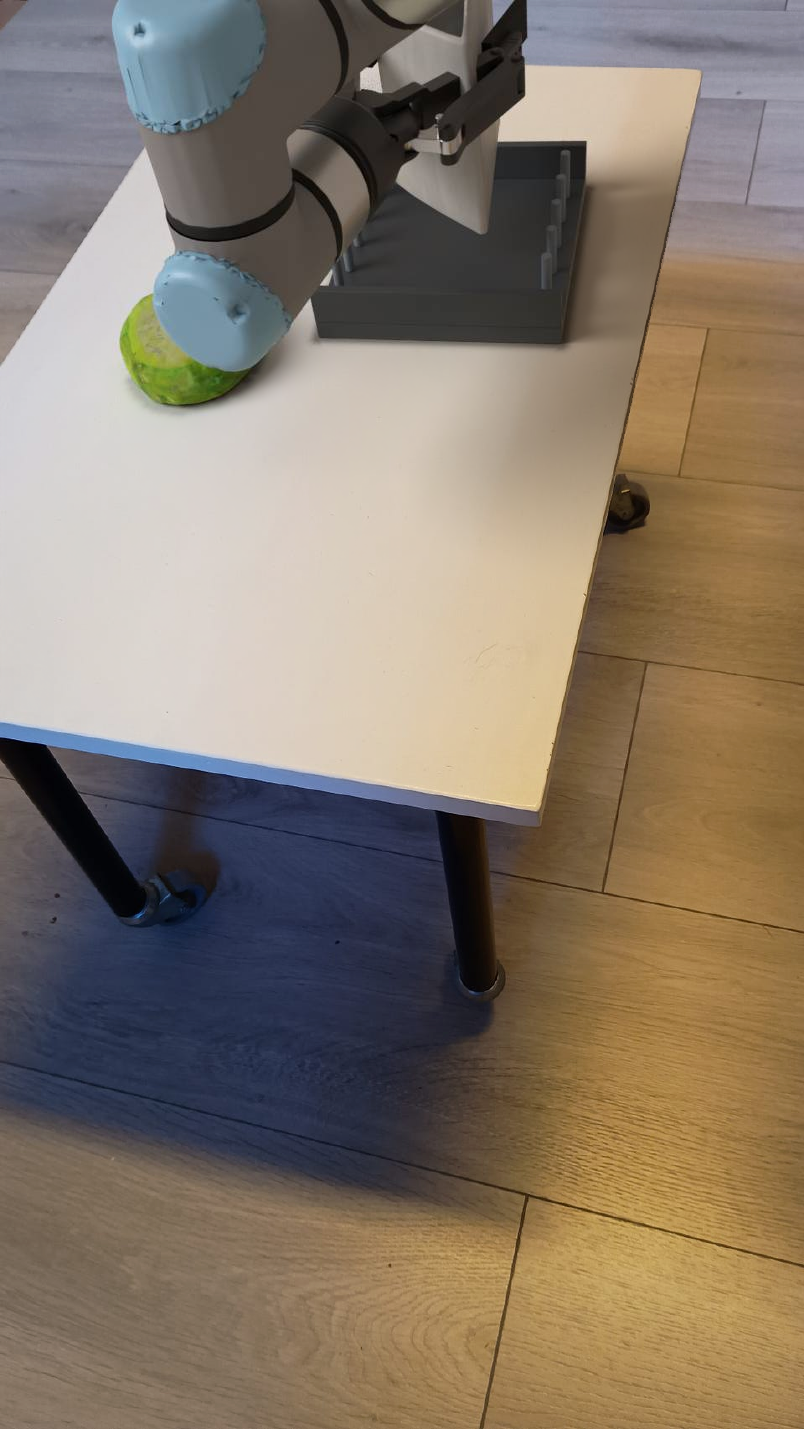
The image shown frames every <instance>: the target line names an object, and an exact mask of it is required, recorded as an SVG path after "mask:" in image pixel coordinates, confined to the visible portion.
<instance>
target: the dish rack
mask: <svg viewBox="0 0 804 1429" xmlns="http://www.w3.org/2000/svg"><path fill="white" fill-rule="evenodd" d="M587 156H588V141H587V140H530V141H529V140H524V141H523V140H522V141H521V140H519V141H517V140H515V141H512V140H511V141H508V140H507V141H498V143H497V152H496V161H495V169H494V178H493V187H492V196H491V205H490V214H489V225H488V231H487V232H486V233H485V234H482V235H481V234H478V233H476V232H475V231H473V230H471V229H469V228H467V227H465V226H464V225H462V224H460V223H458V222H457V221H455V220H453V219H451V218H449V217H448V216H446V215H444V214H442V213H440V212H439V211H437V210H436V209H434V208H432V207H431V206H429V205H428V204H426V203H424V202H423V201H421V200H420V199H418V198H416V197H415V196H413V195H412V194H411V193H409V192H408V191H407V190H405V189H404V188H403V187H401V186H400V185H399V184H397V183H396V181H395V184H394V186H393V188H392V190H391V192H390V193H389V195H388V196H387V197H386V199H385V200H384V201H383V203H382V204H381V205H380V207H379V208H378V209H377V211H376V212H375V213H374V215H373V216H372V217H371V218H370V220H369V221H368V222H367V223H366V224H364V226H363V228H362V230H361V231H360V232H359V234H358V235H357V236H356V238H355V239H354V240H353V242H352V243H351V244H350V246H349V247H348V248H347V250H346V251H345V252H344V254H343V255H342V256H341V258H340V259H339V260H338V262H336V263H335V265H334V266H333V268H332V269H331V271H332V274H331V277H330V280H329V283H328V285H327V284H326V285H324V284H323V285H322V284H320V286H319V287H318V288H317V290H316V291H315V292H314V294H313V295H312V296H311V298H310V299H309V300H310V304H311V308H312V313H313V317H314V321H315V327H316V331H317V336H318V338H320V339H321V338H324V339H327V338H328V339H365V340H399V341H400V340H402V341H403V340H404V341H405V340H406V341H441V342H444V341H445V342H476V343H478V342H480V343H518V344H519V343H521V344H557V345H559V344H560V345H561V343H562V340H563V339H562V338H563V333H564V327H565V320H566V314H567V308H568V304H569V303H568V301H569V295H570V290H571V284H572V283H571V282H572V277H573V272H574V265H575V259H576V252H577V246H578V241H579V233H580V227H581V221H582V215H583V209H584V202H585V198H586V197H585V196H586V191H587V187H586V186H587V159H588V158H587Z"/></svg>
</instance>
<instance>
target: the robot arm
mask: <svg viewBox="0 0 804 1429" xmlns="http://www.w3.org/2000/svg"><path fill="white" fill-rule="evenodd" d="M457 1H459V0H118V1H117V2H116V4H115V7H114V8H113V14H112V17H111V30H112V36H113V40H114V45H115V50H116V53H117V62H118V65H119V70H120V73H121V77H122V80H123V85H124V93H125V97H126V100H127V104H128V107H129V109H130V111H131V112H132V114H133V116H134V119H135V122H136V124H137V128H138V130H139V133H140V136H141V140H142V142H143V144H144V147H145V151H146V154H147V156H148V159H149V163H150V165H151V167H152V168H151V169H152V170H153V174H154V177H155V179H156V183H157V186H158V189H159V191H160V195H161V198H162V201H163V202H162V203H163V207H164V210H165V220H166V223H167V227H168V229H169V233H170V235H171V238H172V242H173V245H174V253H173V254H172V255H169V256H168V257H167V258H166V259H165V260H164V265H163V266H162V269H161V271H160V272H159V273H158V275H157V276H156V278H155V281H154V285H153V290H152V293H153V306H154V310H155V313H156V316H157V318H158V321H159V322H160V324H161V326H162V328H163V329H164V331H165V332H166V334H167V335H168V336H169V338H170V339H171V340H172V341H173V342H174V343H175V344H176V345H177V346H178V347H179V348H180V349H181V350H182V351H183V352H184V353H186V354H187V355H188V356H190V357H191V358H193V359H194V360H196V361H197V362H199V363H201V364H203V365H205V366H207V367H210V368H218V369H220V370H224V371H232V372H236V371H241V370H245V369H248V368H250V367H252V368H253V367H254V366H255V365H257V363H259V362H260V361H261V360H262V359H263V358H264V357H265V355H266V354H268V352H269V351H270V350H271V349H272V348H273V347H274V346H275V344H276V343H278V341H279V340H280V339H281V338H283V337H285V336H286V335H287V334H288V333H289V331H290V330H291V326H292V324H293V323H294V321H295V320H296V318H297V317H298V315H299V314H300V313H301V311H303V309H304V308H305V306H306V305H307V303H308V302H309V301H310V300H311V299H310V298H311V296H312V295H313V294H314V292H315V291H316V290H317V288H318V287H319V286H320V285H322V284H323V282H324V281H325V278H327V276H328V275H329V274H330V272H331V271H332V268H333V266H334V265H335V263H336V262H338V260H339V259H340V258H341V256H342V255H343V254H344V252H345V251H346V250H347V248H348V247H349V246H350V244H351V243H352V242H353V240H354V239H355V238H356V236H357V235H358V234H359V232H360V231H361V230H362V228H363V226H364V224H366V223H367V222H368V221H369V220H370V218H371V217H372V216H373V215H374V213H375V212H376V211H377V209H378V208H379V207H380V205H381V204H382V203H383V201H384V200H385V199H386V197H387V196H388V195H389V193H390V192H391V190H392V188H393V186H394V184H395V181H396V179H397V176H398V173H399V171H400V169H401V167H402V166H403V165H404V164H405V163H407V162H409V161H411V160H413V159H414V158H416V157H417V156H418V154H419V153H420V152H430V153H440V160H441V164H443V165H445V166H452V165H455V164H456V163H457V162H458V161H459V159H460V157H461V155H462V153H463V151H464V149H465V147H466V146H467V145H469V144H470V143H471V142H472V141H473V140H475V139H476V138H477V137H478V136H479V135H480V134H482V133H483V132H484V131H485V130H486V129H487V128H489V127H490V126H491V125H492V124H493V123H494V122H496V121H497V120H498V119H499V118H500V119H501V118H502V117H503V116H504V115H505V114H506V113H508V112H509V111H510V110H511V109H512V108H514V107H515V106H516V105H517V104H518V103H519V102H521V101H522V100H523V99H524V98H525V97H526V58H525V56H524V55H523V45H524V43H525V41H526V40H527V39H528V0H513V1H512V3H510V5H509V6H508V7H507V9H506V10H505V12H504V13H503V14H502V15H501V16H500V17H499V19H498V20H497V22H496V23H495V24H494V27H493V28H492V29H491V31H490V32H489V33H488V35H487V36H486V37H485V38H484V40H483V41H482V42H481V47H482V53H481V54H479V55H478V57H477V64H476V73H477V84H476V85H474V86H473V87H472V88H471V89H470V90H468V91H467V92H466V93H465V94H463V95H462V96H461V90H460V77H459V76H457V75H455V74H453V73H451V72H449V71H447V72H445V73H443V74H441V75H440V76H438V77H436V78H434V79H432V80H430V81H428V82H426V83H425V84H423V85H421V84H419V83H417V82H411V83H410V84H408V85H406V86H404V87H402V88H400V89H398V90H396V91H395V92H393V93H382V92H378V91H376V90H373V89H368V88H361V73H362V72H363V71H364V70H365V69H367V68H368V69H373V68H374V67H375V66H376V65H377V64H378V61H377V58H378V57H380V56H381V55H382V54H384V53H385V52H386V51H388V50H389V49H391V48H392V47H394V46H395V45H397V44H398V43H399V42H401V41H402V40H404V39H405V38H407V37H408V36H410V35H411V34H413V33H414V32H416V31H417V30H418V29H420V28H421V27H423V26H424V25H426V24H427V23H428V21H430V20H431V19H432V18H434V17H435V16H437V15H438V14H440V13H441V12H443V11H444V10H446V9H447V8H449V7H450V6H452V5H453V4H454V3H456V2H457ZM335 95H336V96H335ZM410 103H411V105H410ZM411 106H412V108H411Z"/></svg>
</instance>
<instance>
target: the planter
mask: <svg viewBox="0 0 804 1429" xmlns="http://www.w3.org/2000/svg"><path fill="white" fill-rule="evenodd" d="M493 8H494V7H493V0H459V1H457V2H456V3H454V4H453V5H452V6H450V7H449V8H447V9H446V10H444V11H443V12H441V13H440V14H438V15H437V16H435V17H434V18H432V19H431V20H430V21H428V23H427V24H426V25H424V26H423V27H421V28H420V29H418V30H417V31H416V32H414V33H413V34H411V35H410V36H408V37H407V38H405V39H404V40H402V41H401V42H399V43H398V44H397V45H395V46H394V47H392V48H391V49H389V50H388V51H386V52H385V53H384V54H382V55H381V56H380V57H378V58H377V61H378V62H377V67H378V73H379V79H380V87H381V93H393V92H395V91H396V90H398V89H400V88H402V87H404V86H406V85H408V84H410V83H411V82H417V83H419V84H421V85H423V84H425V83H426V82H428V81H430V80H432V79H434V78H436V77H438V76H440V75H441V74H443V73H445V72H447V71H449V72H451V73H453V74H455V75H457V76H459V77H460V90H461V96H462V95H463V94H465V93H466V92H467V91H468V90H470V89H471V88H472V87H473V86H474V85H476V84H477V73H476V64H477V57H478V55H479V54H481V53H482V47H481V42H482V41H483V40H484V38H485V37H486V36H487V35H488V33H489V32H490V31H491V29H492V28H493V27H494V26H495V24H494V14H493V13H494V12H493V10H494V9H493ZM410 105H411V103H410ZM411 108H412V106H411ZM500 125H501V117H500V118H499V119H498V120H497V121H496V122H494V123H493V124H492V125H491V126H490V127H489V128H487V129H486V130H485V131H484V132H483V133H482V134H480V135H479V136H478V137H477V138H476V139H475V140H473V141H472V142H471V143H470V144H469V145H467V146H466V147H465V149H464V151H463V153H462V155H461V157H460V159H459V161H458V162H457V163H456V164H455V165H452V166H445V165H443V164H441V160H440V153H430V152H420V153H419V154H418V156H417V157H416V158H414V159H413V160H411V161H409V162H407V163H405V164H404V165H403V166H402V167H401V169H400V171H399V173H398V176H397V179H396V183H397V184H399V185H400V186H401V187H403V188H404V189H405V190H407V191H408V192H409V193H411V194H412V195H413V196H415V197H416V198H418V199H420V200H421V201H423V202H424V203H426V204H428V205H429V206H431V207H432V208H434V209H436V210H437V211H439V212H440V213H442V214H444V215H446V216H448V217H449V218H451V219H453V220H455V221H457V222H458V223H460V224H462V225H464V226H465V227H467V228H469V229H471V230H473V231H475V232H476V233H478V234H481V235H482V234H485V233H486V232H487V231H488V225H489V214H490V205H491V196H492V187H493V178H494V169H495V161H496V152H497V143H498V142H499V134H500Z"/></svg>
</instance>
